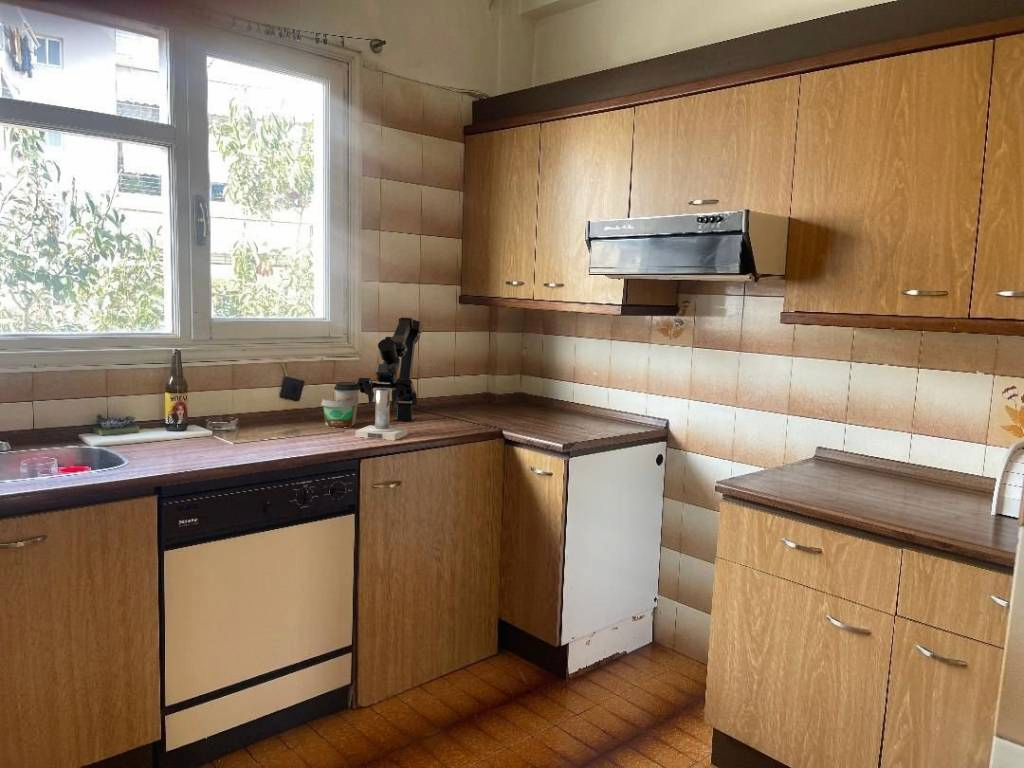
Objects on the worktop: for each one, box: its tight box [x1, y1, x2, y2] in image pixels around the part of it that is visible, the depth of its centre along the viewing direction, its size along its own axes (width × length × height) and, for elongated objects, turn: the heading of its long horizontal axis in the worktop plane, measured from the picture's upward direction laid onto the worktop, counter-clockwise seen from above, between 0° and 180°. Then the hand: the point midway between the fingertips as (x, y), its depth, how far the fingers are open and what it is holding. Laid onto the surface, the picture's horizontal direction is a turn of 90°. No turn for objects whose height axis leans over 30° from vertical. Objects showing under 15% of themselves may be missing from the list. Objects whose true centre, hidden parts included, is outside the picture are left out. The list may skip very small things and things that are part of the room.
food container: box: [320, 398, 356, 429], centre depth 266 cm, size 12×6×10 cm, turn 105°
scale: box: [355, 425, 408, 441], centre depth 253 cm, size 12×14×3 cm
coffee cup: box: [333, 381, 360, 425], centre depth 273 cm, size 9×9×15 cm
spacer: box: [374, 388, 391, 429], centre depth 253 cm, size 5×5×13 cm
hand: (381, 405), depth 251 cm, fingers open, 7 cm apart
